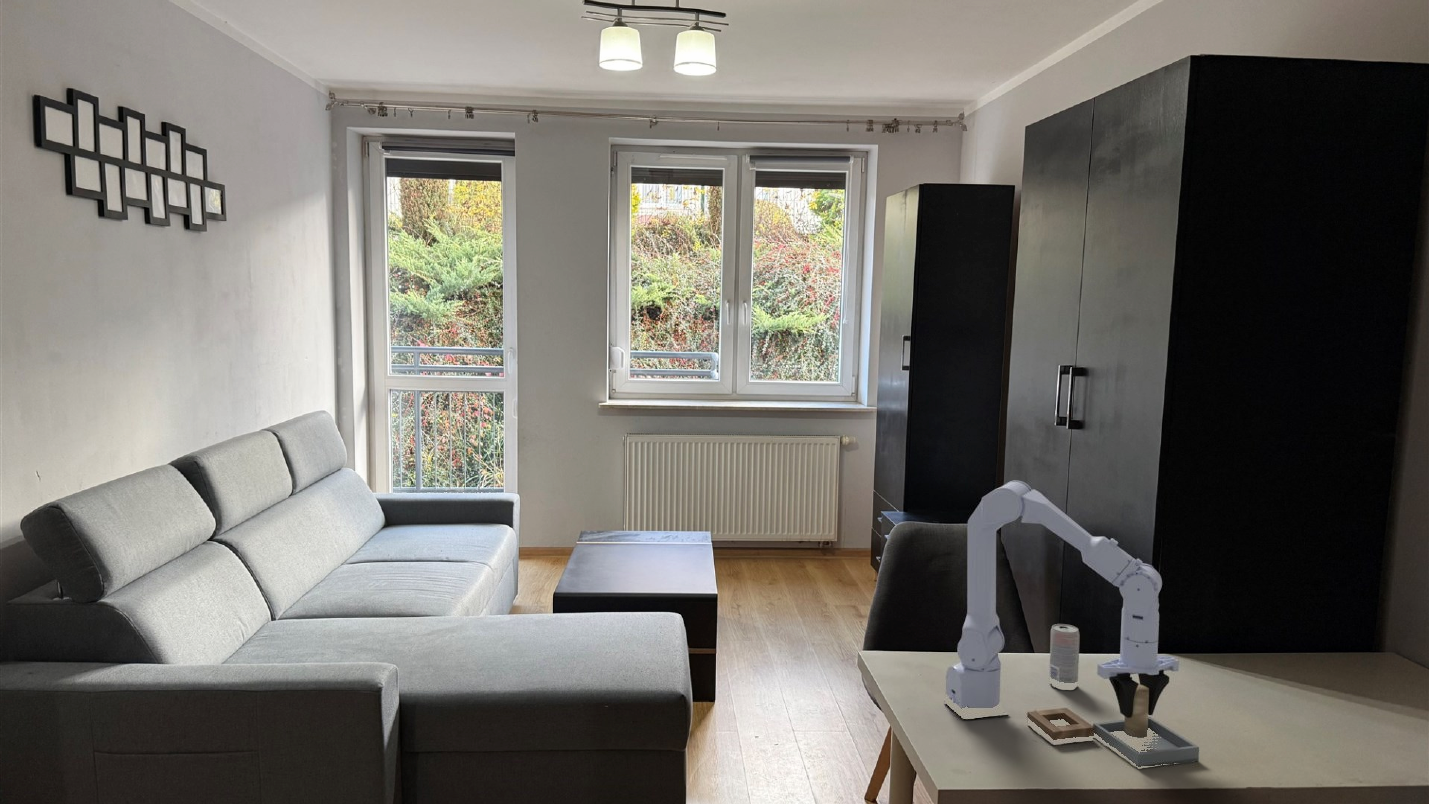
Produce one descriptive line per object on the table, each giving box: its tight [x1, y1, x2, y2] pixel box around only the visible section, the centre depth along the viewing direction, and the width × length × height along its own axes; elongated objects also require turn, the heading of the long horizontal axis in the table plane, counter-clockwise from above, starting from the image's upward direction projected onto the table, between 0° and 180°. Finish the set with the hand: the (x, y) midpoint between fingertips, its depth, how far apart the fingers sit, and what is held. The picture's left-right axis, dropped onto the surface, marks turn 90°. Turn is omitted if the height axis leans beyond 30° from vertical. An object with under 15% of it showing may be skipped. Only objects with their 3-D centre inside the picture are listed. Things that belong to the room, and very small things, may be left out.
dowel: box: [1124, 684, 1149, 738], centre depth 150 cm, size 4×4×8 cm
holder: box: [1026, 707, 1094, 740], centre depth 156 cm, size 8×8×2 cm
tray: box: [1092, 716, 1200, 767], centre depth 150 cm, size 12×12×2 cm
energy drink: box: [1049, 623, 1080, 683], centre depth 176 cm, size 5×5×12 cm
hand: (1136, 714), depth 151 cm, fingers closed on dowel, 4 cm apart
